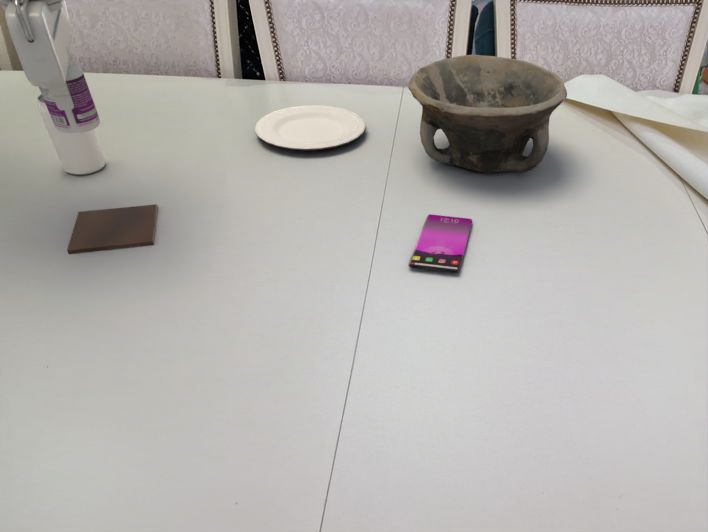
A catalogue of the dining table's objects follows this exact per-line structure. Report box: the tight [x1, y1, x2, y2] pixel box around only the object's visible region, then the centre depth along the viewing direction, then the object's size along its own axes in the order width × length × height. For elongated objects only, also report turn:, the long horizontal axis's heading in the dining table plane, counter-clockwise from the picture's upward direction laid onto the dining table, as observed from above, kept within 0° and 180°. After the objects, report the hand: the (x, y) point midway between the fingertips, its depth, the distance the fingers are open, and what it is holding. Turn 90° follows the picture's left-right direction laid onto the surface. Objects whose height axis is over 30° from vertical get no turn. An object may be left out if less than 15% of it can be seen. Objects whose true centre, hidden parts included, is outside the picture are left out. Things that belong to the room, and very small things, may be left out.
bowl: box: [407, 54, 568, 174], centre depth 109 cm, size 27×26×15 cm
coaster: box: [66, 203, 158, 255], centre depth 91 cm, size 11×11×1 cm
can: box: [37, 93, 106, 176], centre depth 101 cm, size 6×6×12 cm
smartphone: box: [407, 213, 473, 274], centre depth 92 cm, size 7×15×1 cm, turn 172°
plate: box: [254, 104, 366, 151], centre depth 119 cm, size 21×21×2 cm
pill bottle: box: [37, 48, 101, 134], centre depth 78 cm, size 5×5×10 cm
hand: (68, 98), depth 79 cm, fingers closed on pill bottle, 5 cm apart
